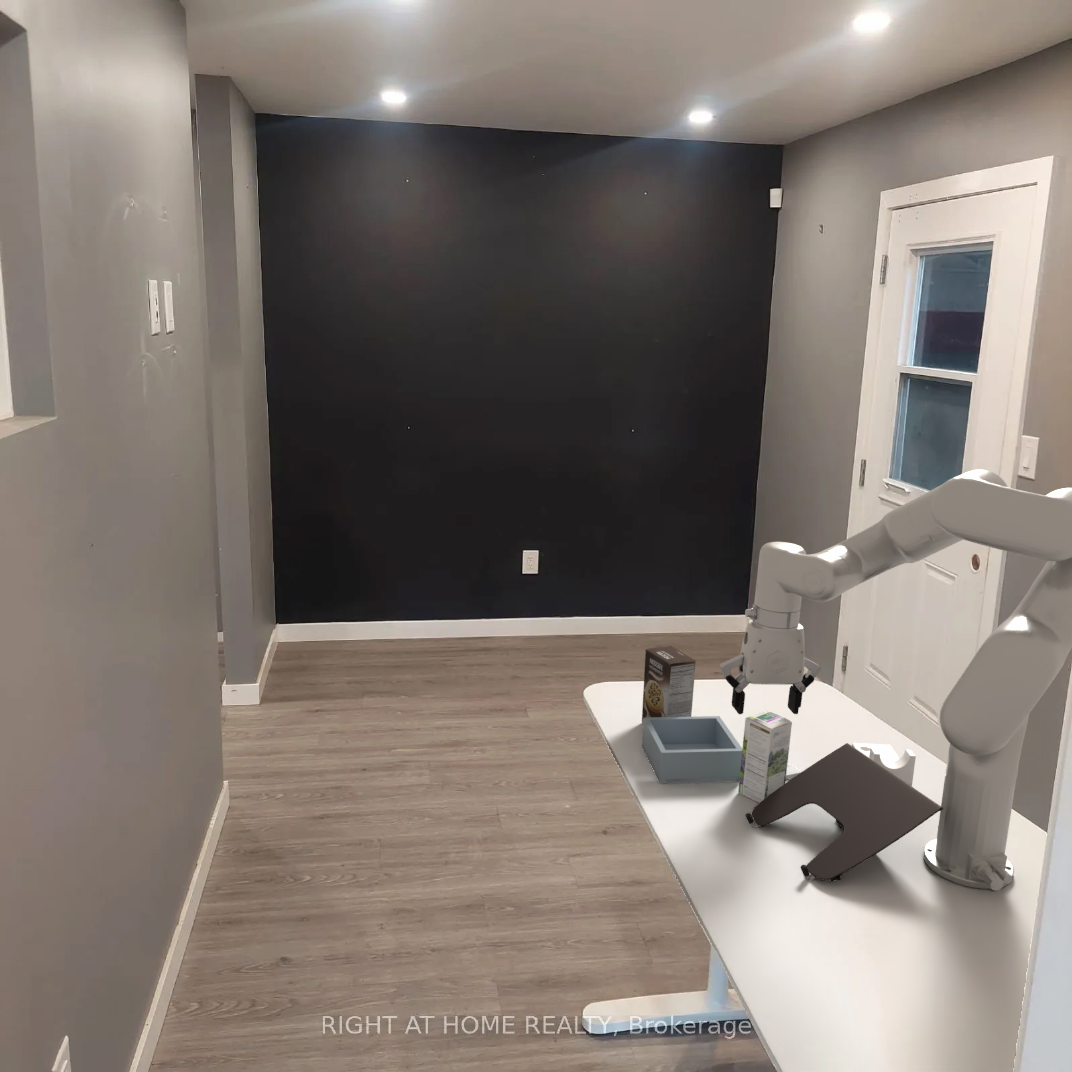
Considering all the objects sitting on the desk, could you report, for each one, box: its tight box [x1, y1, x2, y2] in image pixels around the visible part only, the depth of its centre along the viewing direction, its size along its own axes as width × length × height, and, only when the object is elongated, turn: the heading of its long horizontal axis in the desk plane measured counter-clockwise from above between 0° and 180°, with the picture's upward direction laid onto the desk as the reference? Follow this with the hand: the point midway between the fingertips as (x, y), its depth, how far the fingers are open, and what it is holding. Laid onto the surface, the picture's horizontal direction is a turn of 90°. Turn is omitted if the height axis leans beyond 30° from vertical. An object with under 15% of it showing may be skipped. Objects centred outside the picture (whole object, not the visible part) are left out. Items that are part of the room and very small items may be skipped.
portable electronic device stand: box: [744, 742, 943, 882], centre depth 151 cm, size 23×23×9 cm
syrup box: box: [738, 710, 793, 804], centre depth 164 cm, size 6×6×14 cm
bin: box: [641, 715, 743, 784], centre depth 176 cm, size 15×15×6 cm
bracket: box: [851, 742, 917, 787], centre depth 173 cm, size 13×7×8 cm, turn 177°
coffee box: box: [641, 645, 697, 724], centre depth 189 cm, size 9×6×16 cm
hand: (765, 710), depth 162 cm, fingers open, 9 cm apart
